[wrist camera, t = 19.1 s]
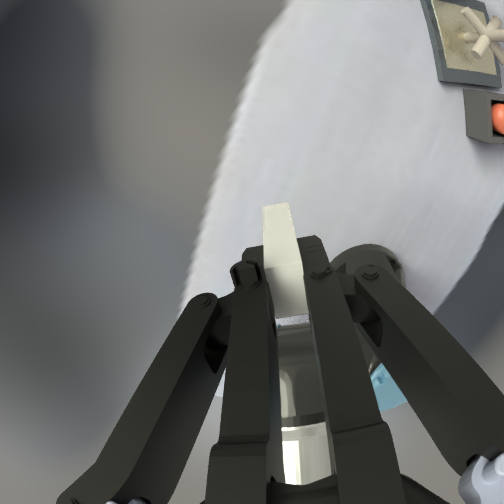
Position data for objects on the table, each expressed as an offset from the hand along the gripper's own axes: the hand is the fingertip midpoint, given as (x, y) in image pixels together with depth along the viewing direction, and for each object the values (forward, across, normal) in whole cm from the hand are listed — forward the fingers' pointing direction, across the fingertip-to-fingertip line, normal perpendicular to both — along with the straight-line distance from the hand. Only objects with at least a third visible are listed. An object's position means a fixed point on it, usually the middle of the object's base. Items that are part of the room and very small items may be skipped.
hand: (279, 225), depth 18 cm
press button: (+20, -37, -3) cm, 42 cm away
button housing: (+24, -37, -3) cm, 44 cm away
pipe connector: (+23, -35, -16) cm, 45 cm away
